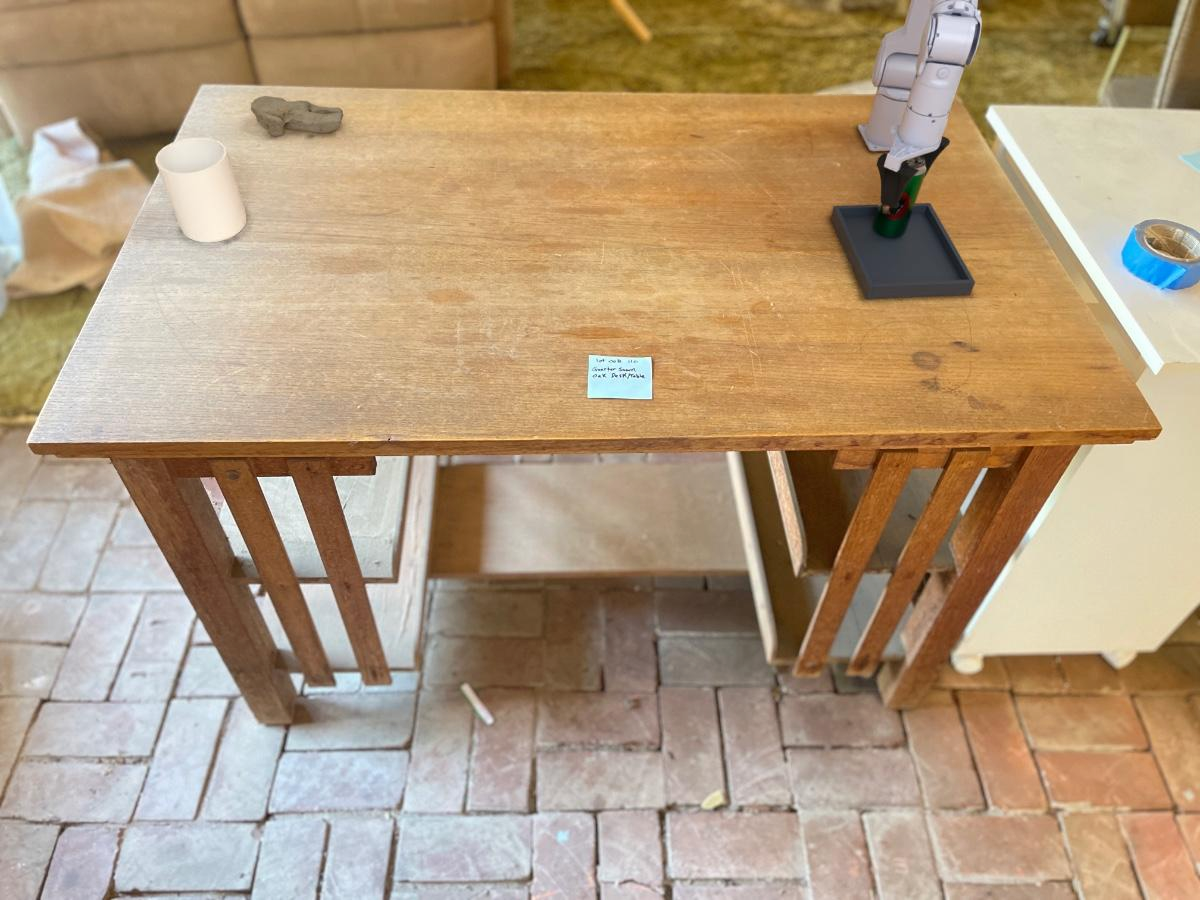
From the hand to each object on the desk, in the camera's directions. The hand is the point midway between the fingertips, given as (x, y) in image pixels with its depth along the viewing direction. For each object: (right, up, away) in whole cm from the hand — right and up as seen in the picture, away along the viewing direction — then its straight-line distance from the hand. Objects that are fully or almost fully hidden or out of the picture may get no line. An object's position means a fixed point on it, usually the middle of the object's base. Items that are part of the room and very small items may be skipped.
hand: (900, 193), depth 134 cm
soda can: (0, -4, +5) cm, 7 cm away
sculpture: (-94, +17, +21) cm, 98 cm away
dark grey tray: (0, -9, +2) cm, 9 cm away
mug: (-102, -3, +3) cm, 102 cm away
